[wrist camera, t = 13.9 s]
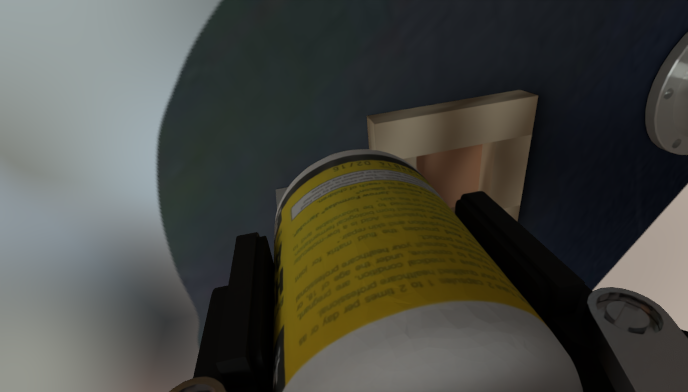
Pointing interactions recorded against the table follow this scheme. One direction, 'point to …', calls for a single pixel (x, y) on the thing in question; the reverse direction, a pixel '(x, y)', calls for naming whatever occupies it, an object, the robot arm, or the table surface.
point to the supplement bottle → (396, 292)
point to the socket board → (464, 144)
